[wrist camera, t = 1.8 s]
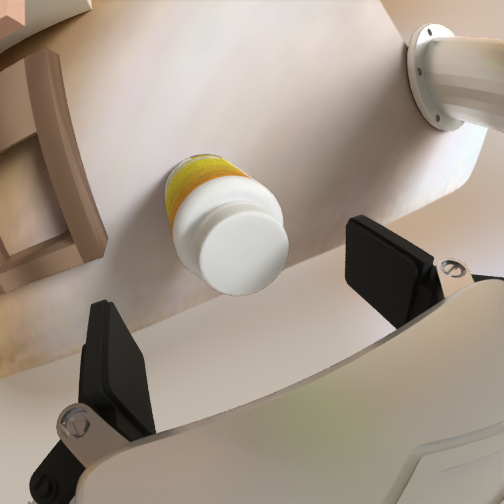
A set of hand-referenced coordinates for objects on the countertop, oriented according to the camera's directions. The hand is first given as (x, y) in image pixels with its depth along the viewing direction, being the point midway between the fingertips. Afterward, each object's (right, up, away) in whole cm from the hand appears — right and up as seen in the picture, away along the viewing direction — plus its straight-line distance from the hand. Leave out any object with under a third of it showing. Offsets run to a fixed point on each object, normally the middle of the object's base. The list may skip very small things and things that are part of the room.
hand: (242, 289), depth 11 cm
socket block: (-16, +7, +4) cm, 18 cm away
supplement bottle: (-3, +6, +10) cm, 12 cm away
